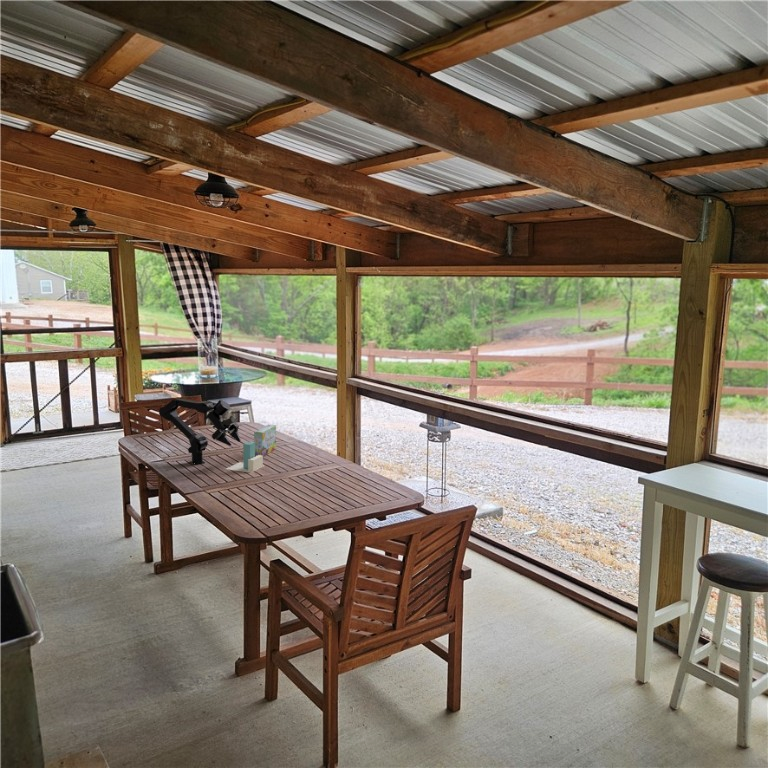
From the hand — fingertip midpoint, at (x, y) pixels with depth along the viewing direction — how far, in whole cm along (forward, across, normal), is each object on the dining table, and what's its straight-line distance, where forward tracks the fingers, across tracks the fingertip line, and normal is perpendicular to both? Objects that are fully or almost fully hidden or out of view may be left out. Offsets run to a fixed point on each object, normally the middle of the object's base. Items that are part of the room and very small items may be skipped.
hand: (235, 443), depth 334 cm
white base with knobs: (+14, 0, +5) cm, 15 cm away
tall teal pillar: (+14, 0, +3) cm, 15 cm away
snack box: (+9, +32, +10) cm, 35 cm away
